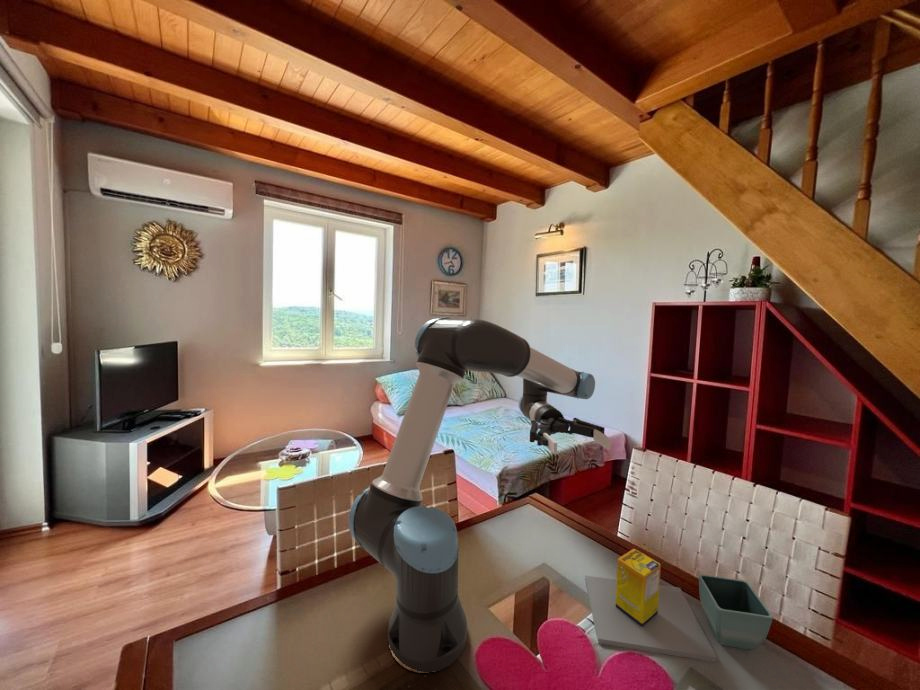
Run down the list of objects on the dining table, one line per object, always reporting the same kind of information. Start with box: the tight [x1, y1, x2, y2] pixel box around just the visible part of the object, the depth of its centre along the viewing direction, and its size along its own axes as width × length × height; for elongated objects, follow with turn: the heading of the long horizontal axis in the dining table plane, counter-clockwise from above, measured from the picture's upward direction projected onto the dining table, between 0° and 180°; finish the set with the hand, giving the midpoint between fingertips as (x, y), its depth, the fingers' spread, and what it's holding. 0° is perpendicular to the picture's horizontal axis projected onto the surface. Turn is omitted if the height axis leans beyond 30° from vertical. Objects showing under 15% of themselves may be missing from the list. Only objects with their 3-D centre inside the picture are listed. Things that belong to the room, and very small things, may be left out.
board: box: [584, 575, 717, 663], centre depth 74 cm, size 20×16×1 cm
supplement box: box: [616, 548, 662, 627], centre depth 74 cm, size 6×6×11 cm
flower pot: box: [698, 574, 774, 650], centre depth 69 cm, size 9×9×9 cm
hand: (582, 446), depth 85 cm, fingers open, 13 cm apart
